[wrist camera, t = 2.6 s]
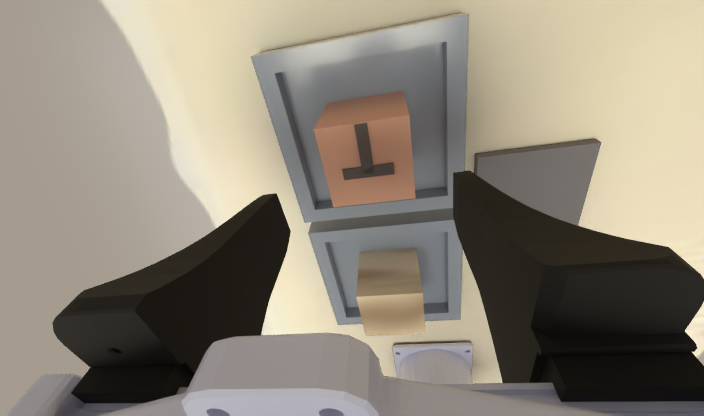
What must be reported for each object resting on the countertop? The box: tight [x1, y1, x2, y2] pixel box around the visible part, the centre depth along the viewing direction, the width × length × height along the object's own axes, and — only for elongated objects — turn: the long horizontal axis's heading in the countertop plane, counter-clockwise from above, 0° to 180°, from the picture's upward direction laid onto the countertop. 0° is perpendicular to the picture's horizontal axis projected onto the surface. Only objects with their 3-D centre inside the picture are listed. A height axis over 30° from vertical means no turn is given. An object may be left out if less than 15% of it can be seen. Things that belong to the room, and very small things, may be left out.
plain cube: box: [356, 248, 426, 336], centre depth 24 cm, size 4×4×4 cm
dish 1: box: [251, 13, 469, 223], centre depth 19 cm, size 11×11×2 cm
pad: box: [474, 139, 601, 226], centre depth 21 cm, size 7×7×1 cm
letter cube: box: [314, 91, 416, 207], centre depth 17 cm, size 4×5×5 cm
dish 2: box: [308, 208, 462, 325], centre depth 25 cm, size 11×11×2 cm
